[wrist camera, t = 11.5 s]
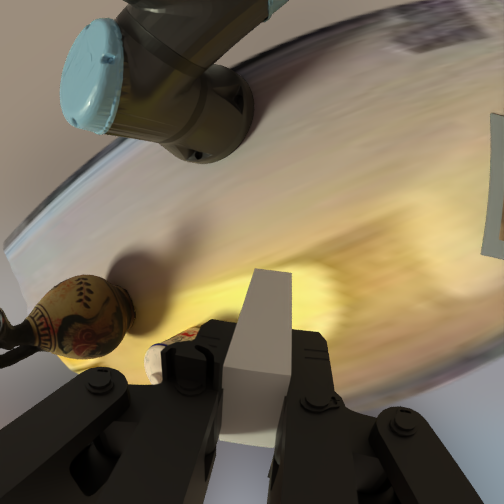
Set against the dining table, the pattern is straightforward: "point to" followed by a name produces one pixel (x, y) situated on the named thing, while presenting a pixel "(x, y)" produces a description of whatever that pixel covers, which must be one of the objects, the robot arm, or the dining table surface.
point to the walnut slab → (502, 225)
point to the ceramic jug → (71, 322)
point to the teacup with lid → (154, 355)
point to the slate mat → (495, 191)
